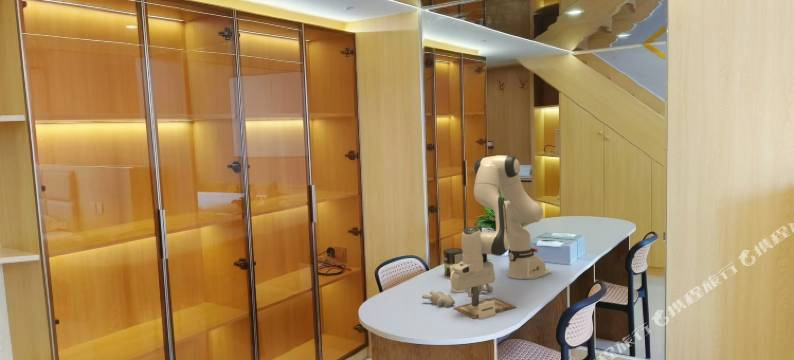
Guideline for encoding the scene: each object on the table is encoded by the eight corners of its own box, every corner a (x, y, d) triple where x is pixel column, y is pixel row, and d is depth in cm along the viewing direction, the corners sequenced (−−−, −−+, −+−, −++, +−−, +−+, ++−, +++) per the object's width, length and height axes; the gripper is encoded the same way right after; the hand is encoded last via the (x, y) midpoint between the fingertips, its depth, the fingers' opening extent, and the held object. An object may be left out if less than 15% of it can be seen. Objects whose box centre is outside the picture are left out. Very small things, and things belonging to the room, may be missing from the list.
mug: (457, 295, 258) (455, 271, 257) (443, 292, 264) (441, 268, 262) (472, 288, 266) (470, 264, 265) (458, 286, 272) (456, 262, 271)
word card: (494, 314, 230) (493, 300, 229) (495, 314, 229) (494, 301, 229) (478, 318, 227) (478, 304, 226) (479, 319, 226) (478, 305, 225)
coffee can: (446, 279, 285) (444, 253, 283) (443, 274, 295) (442, 248, 293) (465, 277, 285) (464, 251, 283) (462, 272, 295) (460, 247, 294)
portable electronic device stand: (493, 291, 261) (492, 274, 260) (482, 295, 256) (481, 278, 255) (478, 287, 267) (477, 271, 266) (468, 292, 262) (467, 275, 261)
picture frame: (494, 298, 250) (494, 295, 250) (516, 307, 236) (516, 304, 236) (453, 308, 241) (453, 305, 241) (474, 319, 226) (473, 316, 226)
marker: (476, 303, 240) (475, 277, 239) (481, 305, 237) (479, 279, 235) (470, 305, 238) (468, 279, 237) (474, 307, 235) (473, 281, 234)
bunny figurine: (445, 301, 239) (420, 292, 249) (445, 312, 240) (419, 302, 250) (458, 295, 246) (433, 286, 256) (458, 306, 247) (432, 296, 257)
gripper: (488, 259, 243) (490, 289, 244) (449, 267, 234) (451, 298, 236) (497, 262, 237) (498, 293, 239) (457, 270, 228) (459, 302, 230)
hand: (474, 296), depth 237 cm, fingers closed on marker, 3 cm apart
